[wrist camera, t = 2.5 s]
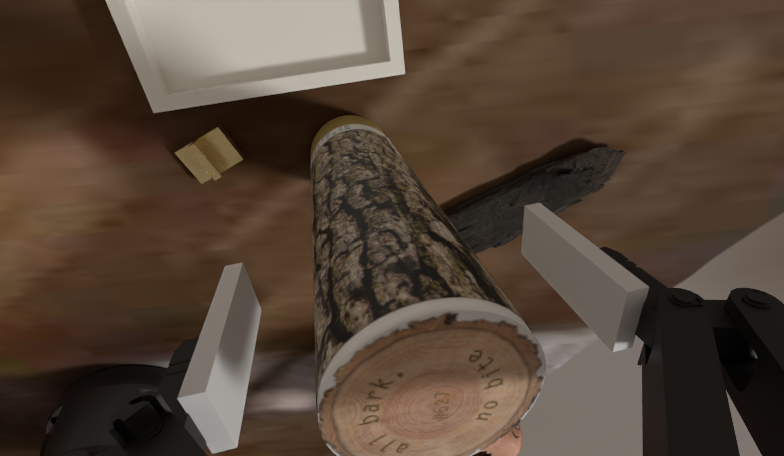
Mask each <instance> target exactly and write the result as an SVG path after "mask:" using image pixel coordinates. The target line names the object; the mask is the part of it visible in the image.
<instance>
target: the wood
mask: <svg viewBox="0 0 784 456" xmlns="http://www.w3.org/2000/svg"><path fill="white" fill-rule="evenodd" d="M625 153H626V152H624V151H622V150H621V151H616V150H611V149H610V148H607V147H598V148H595V149H592V150H589V151H587V152H583V153H578V154H575V155H572V156H569V157H565V158H563V159H561V160H558V161H555V162H551V163H549V164H546V165H543V166H542V167H537V168H535V169H533V170H531V171H529V172H527V173H526V174H525V175H522V176H520V177H519V178H517V179H515V180H512V181H510V182H507V183H505V184H503V185H501V186H498V187H495V188H493V189H491V190H489V191H488V192H486V193H483V194H481V195H478V196H476V197H474V198H472V199H470V200H468V201H466V202H464V203H461V204H459V205H457V206H455V207H453V208H452V209H448V210H446V211H443V212H444V214H445V215H446V216H447V218H448V219H449V220H450V222H451V223H452V224H453V226H454V227H455V228H456V230H457V231H458V232H459V234H460V235H461V236H462V238H463V239H464V240H465V242H466V243H467V244H468V246H469V247H470V248H471V250H472V251H473V252H474V254H476V253H478V252H481V251H483V250H486V249H488V248H490V247H492V246H493V247H494V248H496V247H499V246H501V245H505V244H506V243H508V242H510V241H511V240H513V239H514V238H516V237H517V236H518V235H520V234H522V233H523V220H524V206H526V205H531V204H535V203H541V204H542V205H543V206H544V207H546V208H547V209H548V210H550V211H551V212H552V213H554V214H555V215H556V214H557V213H559V212H562V211H563V210H564V209H565V208H566V207H568V206H570V205H574V204H576V203H578V202H580V201H582V200H581V199H579V198H581V197H584V196H587V195H588V194H590V193H593V192H596V191H598V190H600V189H601V188H603V187H604V185H603V183H604V182H606V181H608V180H610V177H611V176H612V175H613V173H614V171H615V169H616V167H617V166H618V164H619V163H620V161H621V159H622V157H623V155H624V154H625Z"/></svg>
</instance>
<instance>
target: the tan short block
mask: <svg viewBox="0 0 784 456" xmlns="http://www.w3.org/2000/svg"><path fill="white" fill-rule="evenodd" d="M175 154H176V155H177V157H178V158H179V159H180V160H181V161H182V162H183V163H184V164H185V166H186V167H187V168H188V169H189V170H190V171H191V172H192V174H193V175H194V176H195V177H196V178H197V179H198V180H199V181H200V183H201V184H203V183H204V182H206V181H208V180H209V179H211V178H213V179H214V180H217V179H219V178H221V177H222V175H223V174H224V172H225V170H226V169H228V168H230V167H232V166H233V165H235V164H237V163H238V162H240V161H242V160H243V159H244V157H245V156H244V154H243V153H242V152H241V151H240V149H239V148H238V147H237V145H236V144H235V143H234V141H233V140H232V139H231V138H230V136H229V135H228V134H227V132H226V131H225V130H224V129H223V127H222V126H221V125H219V126H217V127H215V128H214V129H212V130H210V131H208V132H207V133H205V134H203V135H202V136H200V137H198V138H197V139H195V140H193V141H192V142H190V143H188V144H187V145H185V146H183V147H182V148H180V149H178V150H177V151H176V152H175Z"/></svg>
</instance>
